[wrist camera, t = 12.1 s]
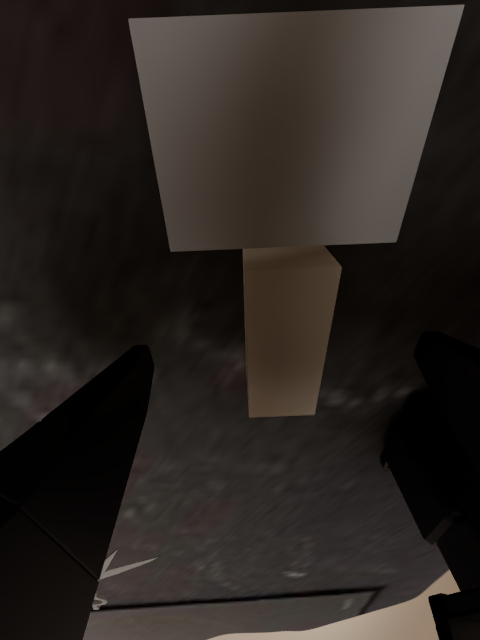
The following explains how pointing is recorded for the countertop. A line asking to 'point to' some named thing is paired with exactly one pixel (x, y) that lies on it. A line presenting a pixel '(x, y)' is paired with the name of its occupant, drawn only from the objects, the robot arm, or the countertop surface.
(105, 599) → the scissors
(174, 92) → the turner
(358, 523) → the countertop surface
